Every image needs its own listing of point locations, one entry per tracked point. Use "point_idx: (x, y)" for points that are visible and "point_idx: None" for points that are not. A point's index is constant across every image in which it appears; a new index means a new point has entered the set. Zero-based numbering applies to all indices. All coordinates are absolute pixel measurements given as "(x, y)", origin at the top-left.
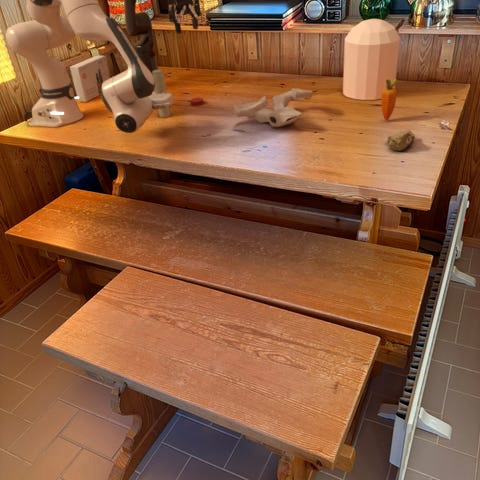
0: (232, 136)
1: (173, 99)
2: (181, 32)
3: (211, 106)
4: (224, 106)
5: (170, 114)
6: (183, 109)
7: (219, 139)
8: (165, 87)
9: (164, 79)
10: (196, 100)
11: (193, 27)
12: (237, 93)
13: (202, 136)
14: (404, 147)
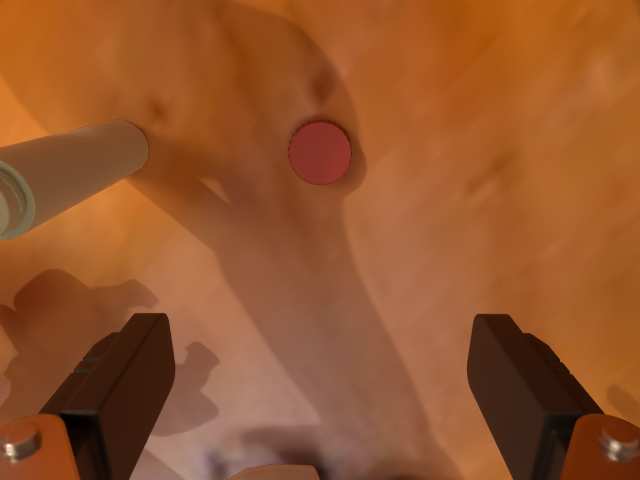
0: (176, 477)
1: (2, 403)
2: (172, 384)
3: (327, 238)
4: (356, 284)
5: (140, 168)
6: (226, 156)
7: (136, 465)
8: (70, 207)
9: (48, 219)
10: (310, 161)
11: (480, 330)
12: (523, 212)
13: None
14: None
